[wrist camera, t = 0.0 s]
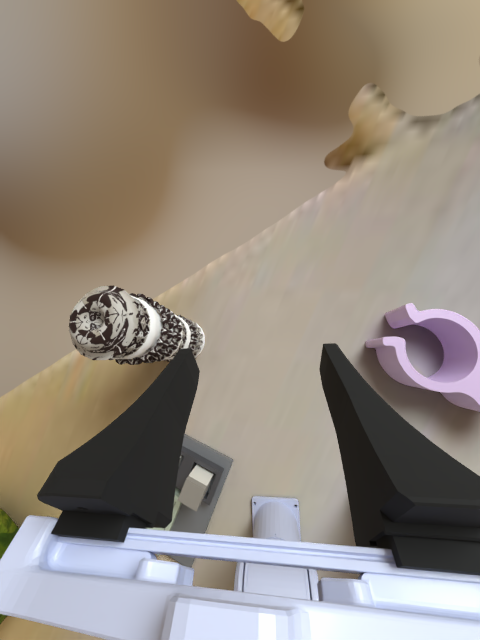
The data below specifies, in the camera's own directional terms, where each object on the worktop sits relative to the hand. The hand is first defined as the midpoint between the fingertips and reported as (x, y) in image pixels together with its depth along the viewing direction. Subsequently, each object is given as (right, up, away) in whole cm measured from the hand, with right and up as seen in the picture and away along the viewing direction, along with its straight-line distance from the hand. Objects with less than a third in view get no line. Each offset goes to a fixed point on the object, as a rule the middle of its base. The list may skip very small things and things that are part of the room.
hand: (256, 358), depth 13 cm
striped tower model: (-12, -2, +35) cm, 37 cm away
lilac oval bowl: (+32, -5, +28) cm, 43 cm away
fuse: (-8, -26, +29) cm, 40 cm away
